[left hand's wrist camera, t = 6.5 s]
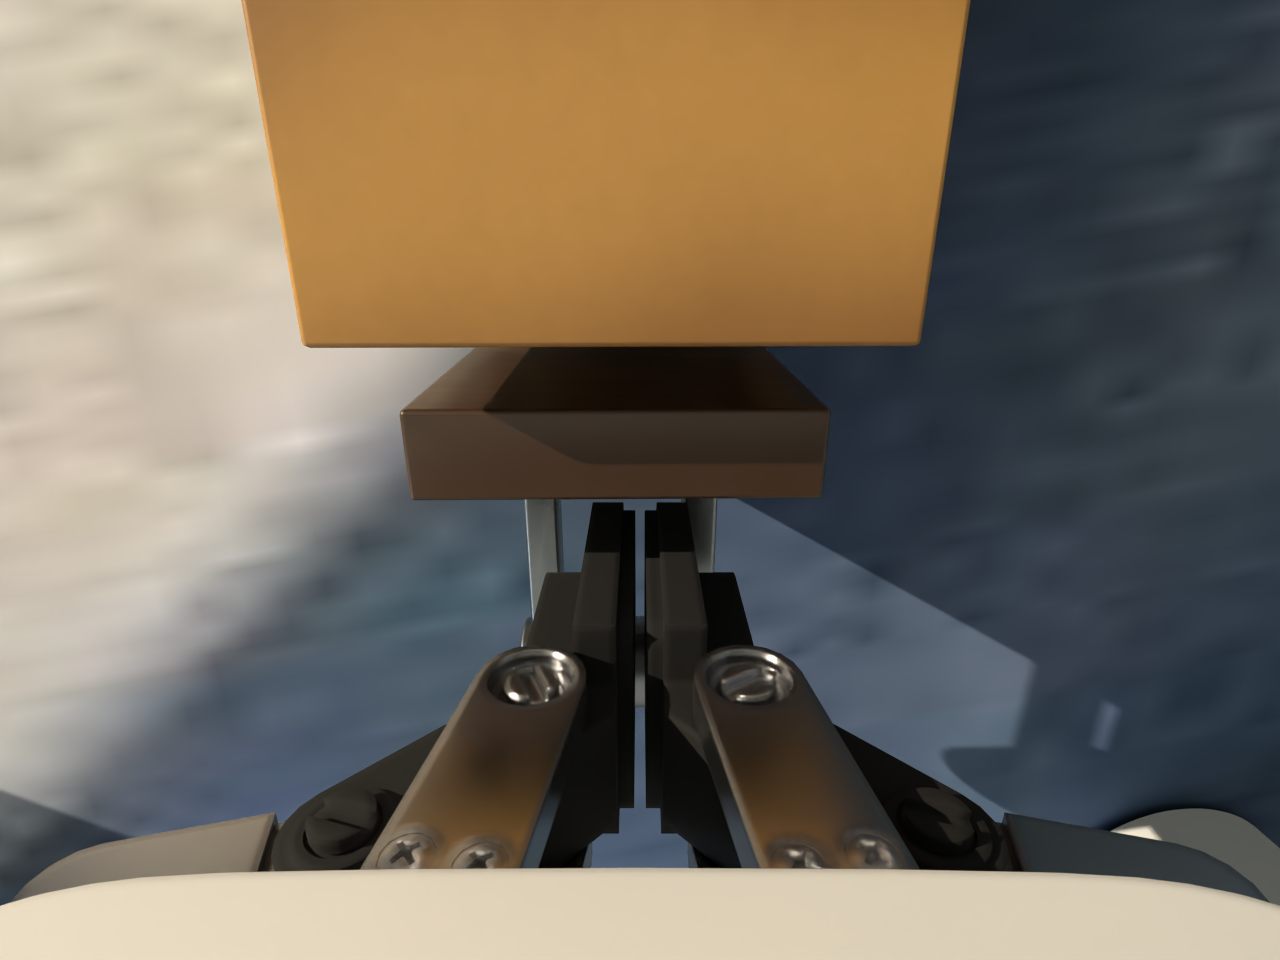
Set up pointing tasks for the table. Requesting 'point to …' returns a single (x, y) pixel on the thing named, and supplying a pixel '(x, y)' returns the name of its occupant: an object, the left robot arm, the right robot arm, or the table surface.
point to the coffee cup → (1217, 842)
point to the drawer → (614, 438)
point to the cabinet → (608, 168)
